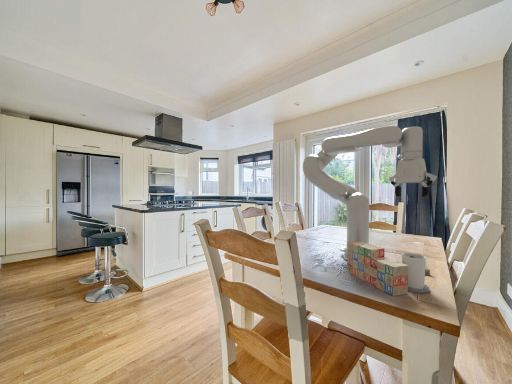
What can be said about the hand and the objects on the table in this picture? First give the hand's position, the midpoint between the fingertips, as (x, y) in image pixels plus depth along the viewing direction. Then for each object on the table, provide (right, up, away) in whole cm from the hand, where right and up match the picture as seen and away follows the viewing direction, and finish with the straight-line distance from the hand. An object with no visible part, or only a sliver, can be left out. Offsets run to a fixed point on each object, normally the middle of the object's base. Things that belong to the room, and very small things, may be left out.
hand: (410, 196), depth 92 cm
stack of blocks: (-24, -31, -15) cm, 42 cm away
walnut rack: (-7, -30, -7) cm, 32 cm away
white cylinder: (-13, -30, -20) cm, 38 cm away
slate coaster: (-13, -30, -19) cm, 39 cm away
